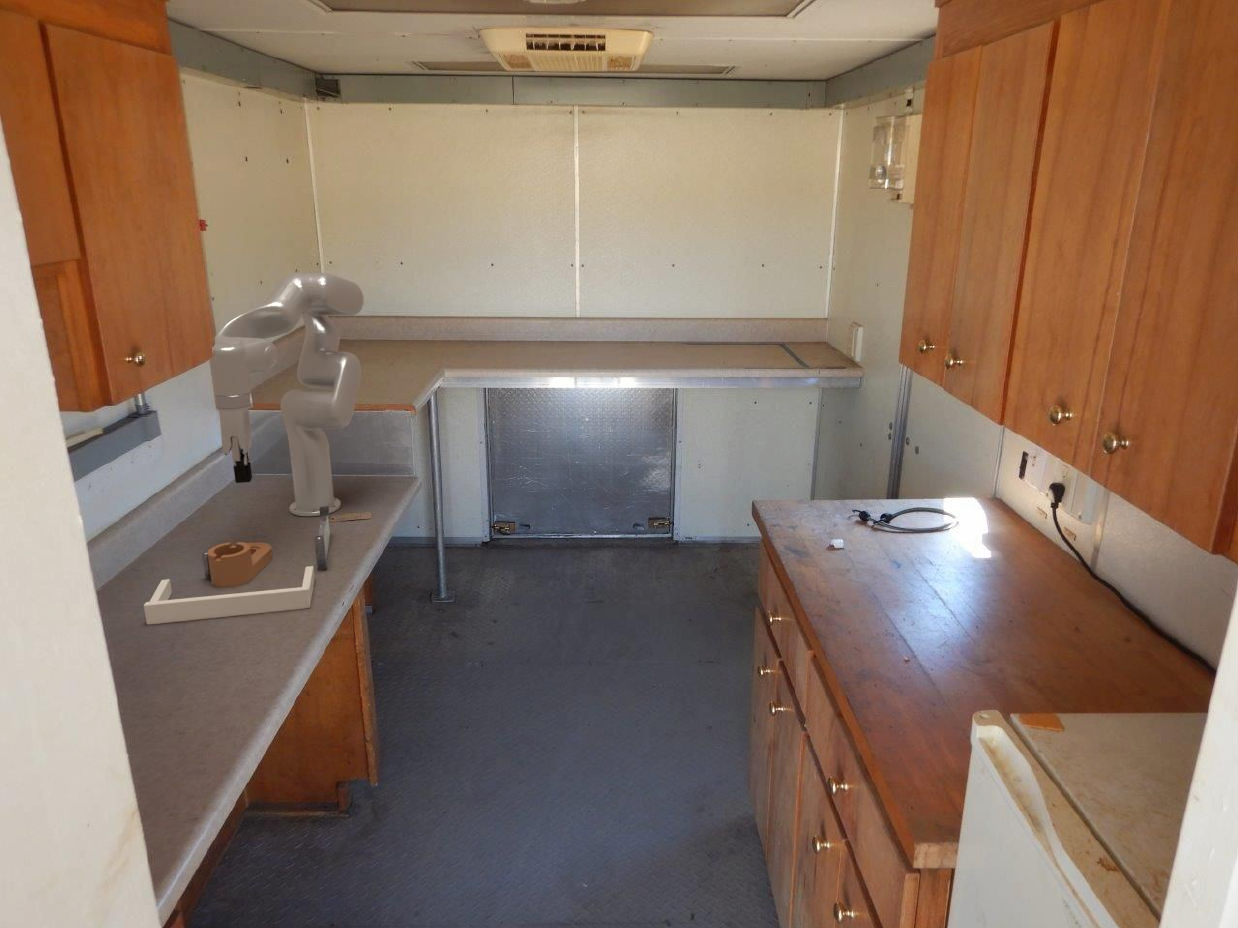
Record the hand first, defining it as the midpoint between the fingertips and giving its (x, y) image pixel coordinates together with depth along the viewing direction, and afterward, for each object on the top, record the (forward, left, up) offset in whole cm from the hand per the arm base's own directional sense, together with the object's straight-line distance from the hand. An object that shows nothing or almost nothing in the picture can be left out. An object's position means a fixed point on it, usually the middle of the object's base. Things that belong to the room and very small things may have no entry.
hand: (243, 480), depth 195 cm
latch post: (+14, -7, -17) cm, 23 cm away
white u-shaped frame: (+25, 0, -17) cm, 30 cm away
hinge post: (+14, +16, -17) cm, 27 cm away
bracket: (+10, -1, -18) cm, 20 cm away
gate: (+3, +16, -17) cm, 24 cm away
